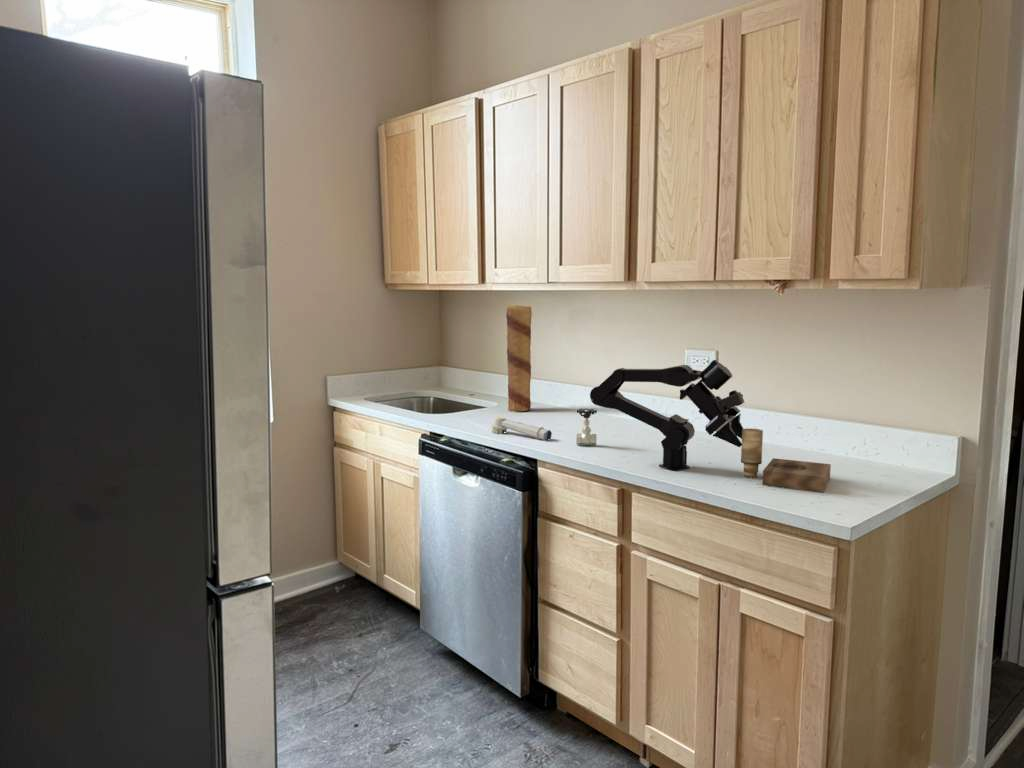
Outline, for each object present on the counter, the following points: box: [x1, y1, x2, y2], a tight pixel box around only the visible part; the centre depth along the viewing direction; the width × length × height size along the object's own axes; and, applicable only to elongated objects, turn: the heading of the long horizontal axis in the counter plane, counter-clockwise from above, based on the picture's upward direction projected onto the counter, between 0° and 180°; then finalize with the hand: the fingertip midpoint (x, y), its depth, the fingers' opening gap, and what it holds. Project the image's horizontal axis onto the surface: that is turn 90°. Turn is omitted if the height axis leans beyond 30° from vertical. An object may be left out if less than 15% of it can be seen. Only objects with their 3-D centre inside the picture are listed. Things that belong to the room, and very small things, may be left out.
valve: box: [575, 407, 598, 446], centre depth 240 cm, size 7×7×12 cm
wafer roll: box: [505, 305, 533, 413], centre depth 309 cm, size 10×11×45 cm
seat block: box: [761, 457, 832, 493], centre depth 194 cm, size 15×16×4 cm
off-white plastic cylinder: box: [491, 415, 553, 441], centre depth 256 cm, size 5×7×25 cm
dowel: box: [740, 428, 764, 478], centre depth 199 cm, size 5×5×13 cm
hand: (744, 442), depth 200 cm, fingers open, 9 cm apart
